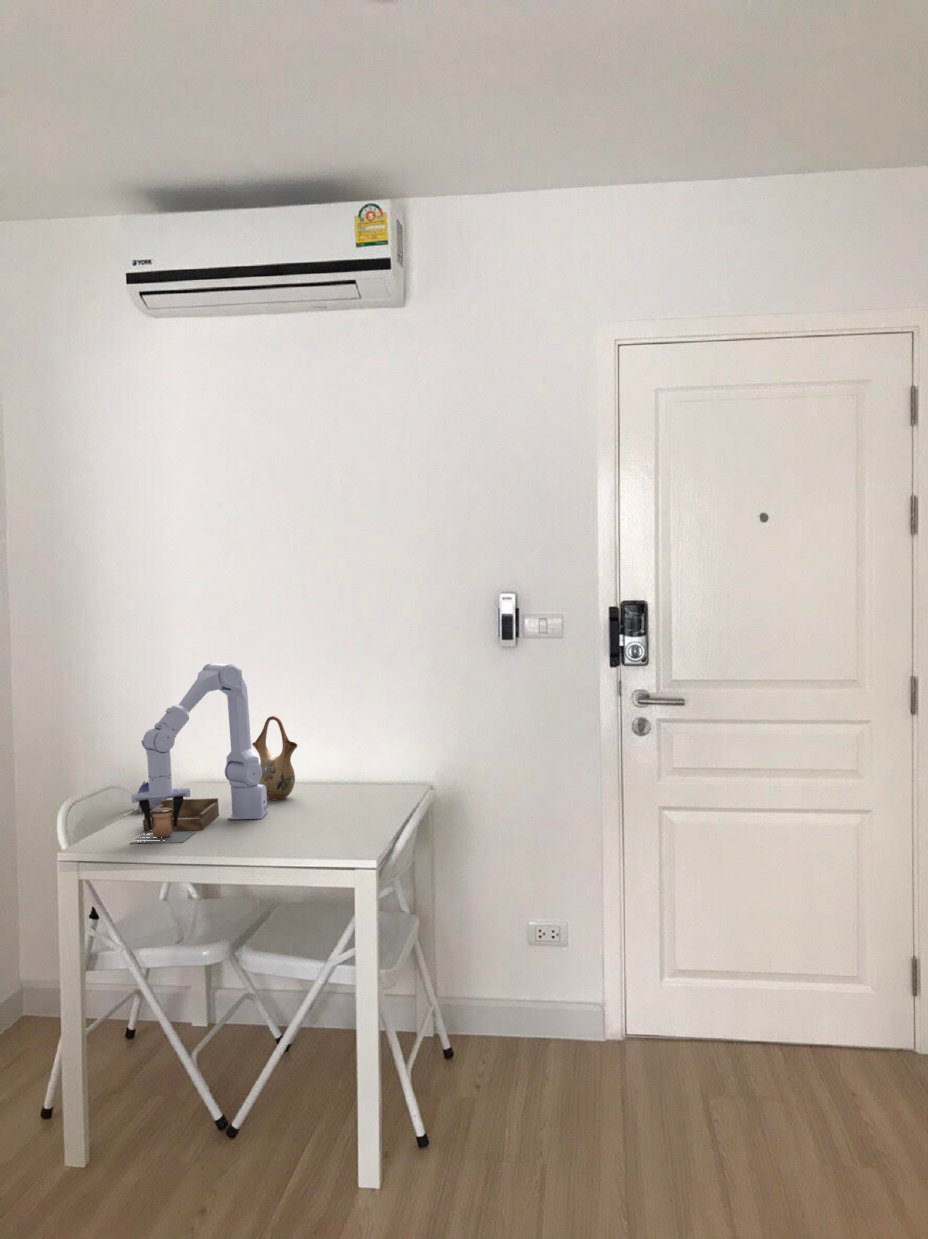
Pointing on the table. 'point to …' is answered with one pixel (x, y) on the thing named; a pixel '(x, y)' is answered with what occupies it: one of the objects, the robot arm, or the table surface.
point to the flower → (152, 803)
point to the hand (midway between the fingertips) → (162, 827)
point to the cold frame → (191, 813)
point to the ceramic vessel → (276, 764)
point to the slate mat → (166, 838)
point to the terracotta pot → (162, 821)
